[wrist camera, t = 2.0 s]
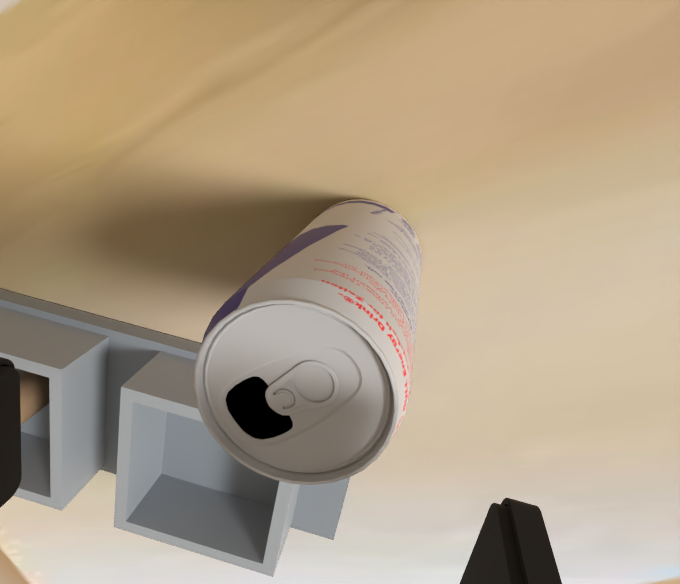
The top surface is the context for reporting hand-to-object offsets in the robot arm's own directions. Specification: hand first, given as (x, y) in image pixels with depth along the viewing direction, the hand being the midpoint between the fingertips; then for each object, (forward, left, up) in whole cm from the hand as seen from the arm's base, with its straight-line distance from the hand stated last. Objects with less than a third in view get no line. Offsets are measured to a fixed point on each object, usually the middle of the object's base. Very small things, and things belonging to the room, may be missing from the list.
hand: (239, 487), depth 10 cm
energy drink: (-1, 0, -15) cm, 15 cm away
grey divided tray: (+10, -10, -15) cm, 20 cm away
